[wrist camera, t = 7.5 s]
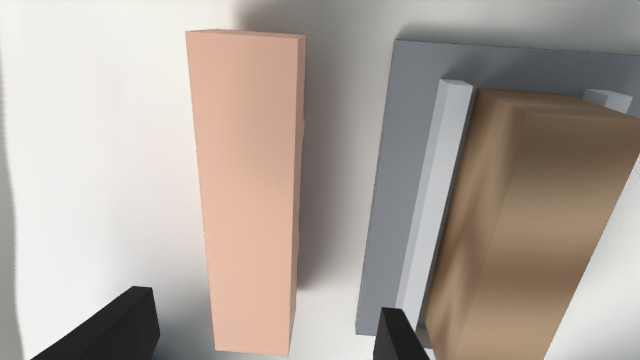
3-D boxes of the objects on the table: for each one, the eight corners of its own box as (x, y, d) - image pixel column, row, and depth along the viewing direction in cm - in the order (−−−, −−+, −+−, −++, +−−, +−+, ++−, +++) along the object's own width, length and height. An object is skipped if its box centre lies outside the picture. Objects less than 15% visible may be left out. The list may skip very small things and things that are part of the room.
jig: (534, 339, 24) (553, 371, 21) (355, 324, 24) (356, 354, 22) (658, 57, 16) (705, 62, 14) (394, 39, 16) (402, 42, 14)
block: (297, 296, 23) (288, 356, 19) (237, 291, 23) (215, 350, 19) (308, 33, 16) (298, 38, 12) (223, 28, 16) (185, 31, 12)
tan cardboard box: (486, 319, 22) (525, 397, 17) (422, 314, 22) (444, 390, 18) (565, 93, 16) (653, 122, 12) (477, 87, 16) (531, 114, 12)
